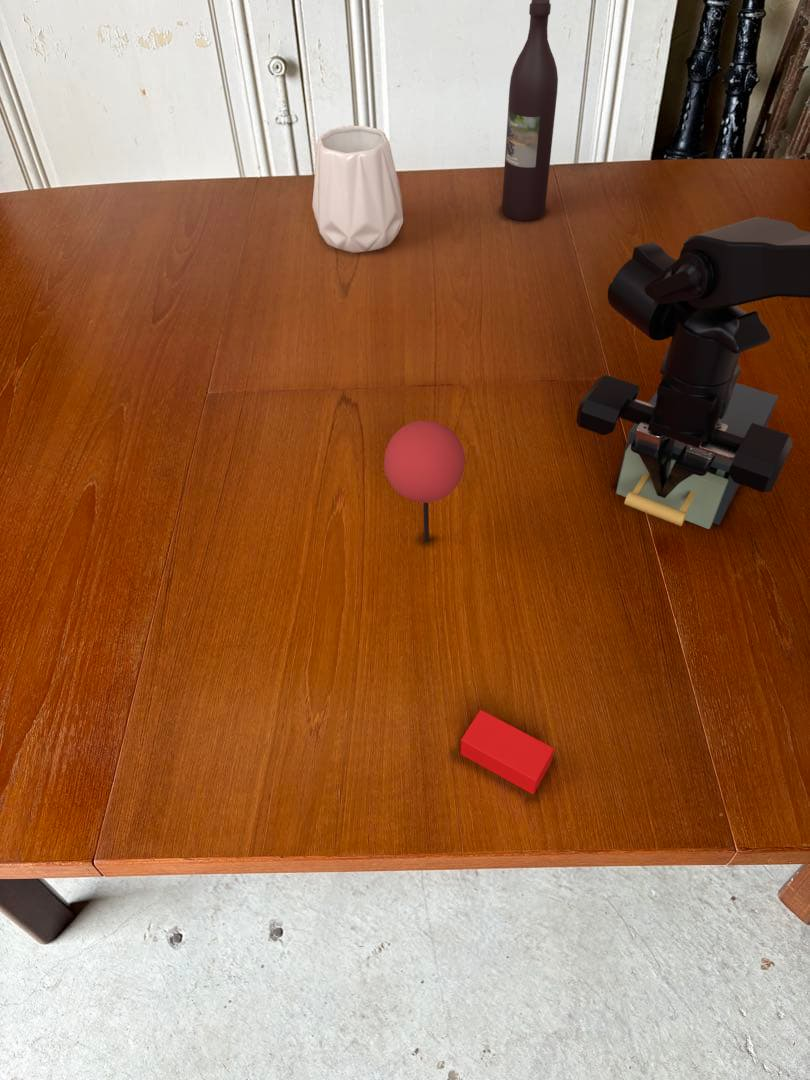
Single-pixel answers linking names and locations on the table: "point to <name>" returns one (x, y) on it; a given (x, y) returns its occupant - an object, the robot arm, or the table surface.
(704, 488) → the drawer
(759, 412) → the cabinet
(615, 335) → the table surface
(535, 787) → the red rectangular block
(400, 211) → the vase
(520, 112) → the wine bottle
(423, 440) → the lollipop
